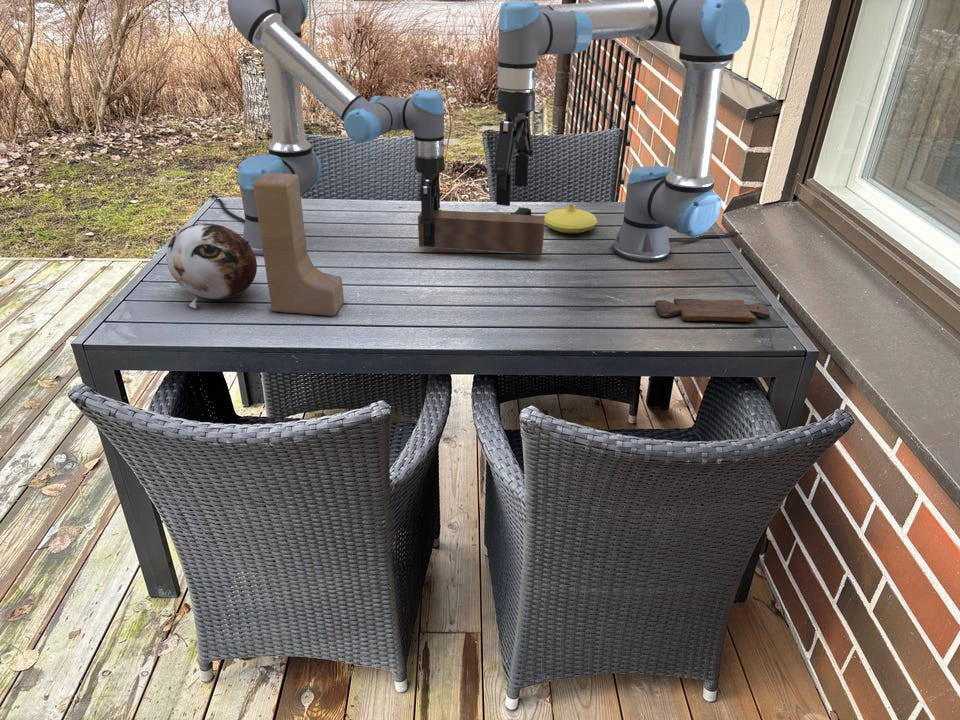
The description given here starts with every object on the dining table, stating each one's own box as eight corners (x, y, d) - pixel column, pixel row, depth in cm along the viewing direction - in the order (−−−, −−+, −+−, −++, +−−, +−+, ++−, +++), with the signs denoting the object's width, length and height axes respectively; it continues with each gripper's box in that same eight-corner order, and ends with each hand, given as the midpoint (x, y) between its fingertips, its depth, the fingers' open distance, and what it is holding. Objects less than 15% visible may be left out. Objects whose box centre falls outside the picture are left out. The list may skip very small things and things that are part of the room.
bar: (418, 246, 192) (417, 216, 188) (423, 238, 197) (422, 209, 193) (541, 254, 188) (543, 223, 184) (543, 246, 193) (544, 215, 189)
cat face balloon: (130, 285, 161) (164, 203, 163) (192, 308, 177) (221, 233, 178) (195, 307, 151) (229, 220, 152) (254, 330, 166) (285, 250, 168)
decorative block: (334, 317, 160) (321, 185, 145) (271, 312, 162) (251, 181, 147) (344, 302, 167) (333, 175, 151) (283, 298, 168) (265, 171, 153)
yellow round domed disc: (559, 216, 220) (561, 193, 217) (605, 227, 212) (608, 204, 209) (532, 230, 209) (533, 207, 206) (580, 242, 201) (582, 218, 198)
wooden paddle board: (775, 325, 161) (761, 305, 169) (777, 318, 160) (763, 299, 168) (660, 321, 161) (652, 301, 169) (661, 314, 160) (653, 295, 169)
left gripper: (437, 166, 173) (438, 255, 185) (450, 146, 190) (451, 229, 201) (406, 164, 174) (410, 253, 186) (422, 145, 190) (425, 228, 202)
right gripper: (517, 102, 129) (513, 215, 140) (549, 80, 149) (543, 180, 160) (478, 99, 131) (476, 211, 142) (515, 77, 151) (511, 177, 162)
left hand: (431, 241), depth 194 cm, fingers closed on bar, 6 cm apart
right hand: (512, 195), depth 151 cm, fingers open, 13 cm apart
